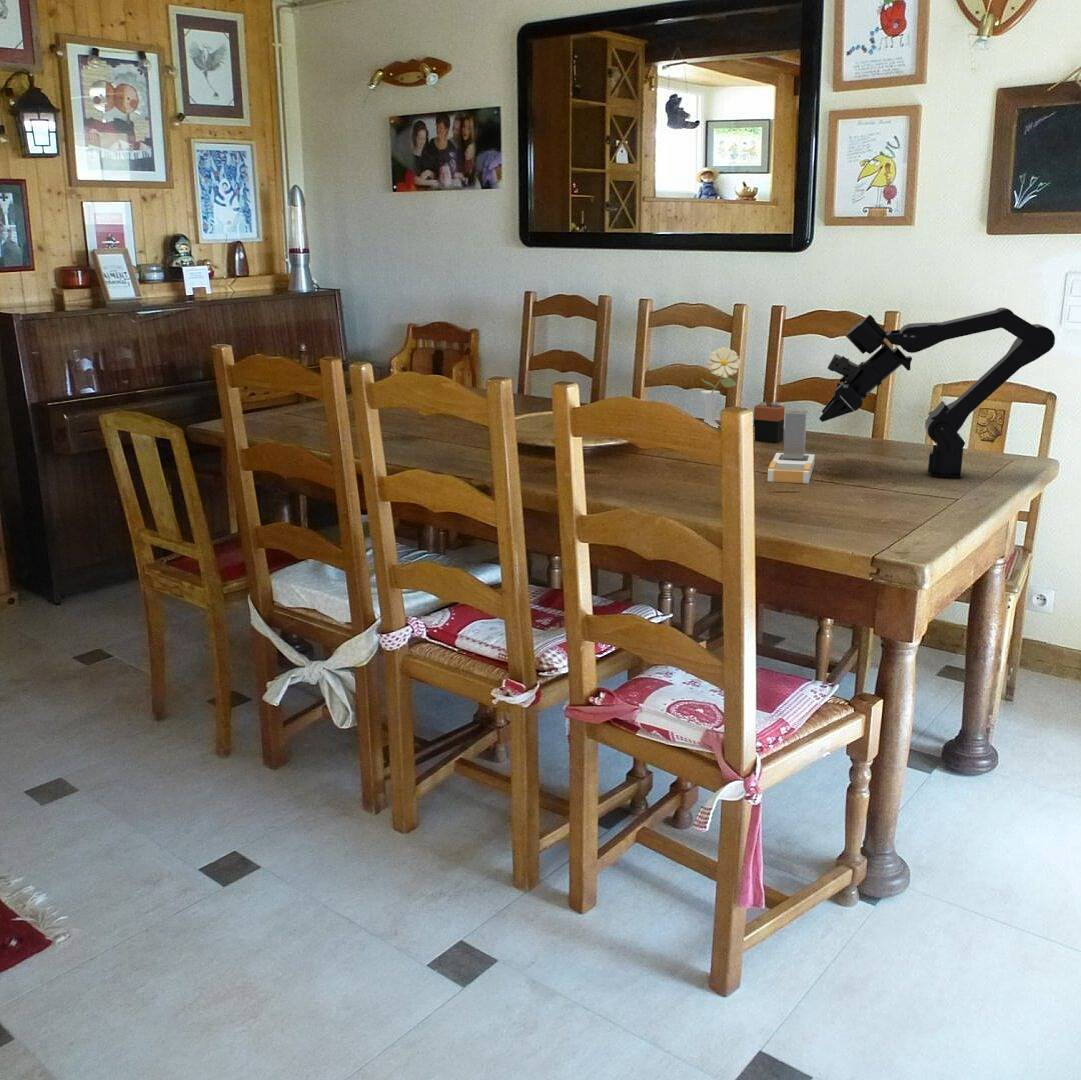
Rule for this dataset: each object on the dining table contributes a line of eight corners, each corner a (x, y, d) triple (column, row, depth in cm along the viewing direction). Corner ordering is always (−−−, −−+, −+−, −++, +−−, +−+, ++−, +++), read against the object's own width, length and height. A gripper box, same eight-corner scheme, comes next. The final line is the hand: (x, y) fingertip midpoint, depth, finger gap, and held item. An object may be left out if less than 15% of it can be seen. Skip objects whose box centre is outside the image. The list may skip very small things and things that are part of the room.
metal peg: (803, 466, 248) (806, 411, 245) (802, 470, 244) (805, 414, 241) (784, 465, 250) (787, 410, 246) (782, 469, 246) (785, 413, 242)
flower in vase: (681, 448, 270) (683, 348, 263) (692, 440, 280) (694, 343, 273) (732, 452, 265) (736, 350, 258) (742, 443, 275) (745, 345, 268)
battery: (776, 443, 274) (778, 404, 272) (752, 440, 278) (753, 402, 276) (783, 440, 278) (785, 402, 275) (759, 438, 282) (761, 400, 279)
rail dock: (814, 465, 250) (814, 452, 249) (808, 483, 233) (809, 470, 232) (775, 463, 252) (776, 451, 252) (767, 481, 235) (767, 468, 234)
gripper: (853, 337, 244) (800, 384, 251) (850, 347, 227) (794, 397, 233) (886, 373, 244) (833, 419, 250) (886, 385, 227) (828, 434, 233)
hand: (821, 416), depth 242 cm, fingers open, 9 cm apart
